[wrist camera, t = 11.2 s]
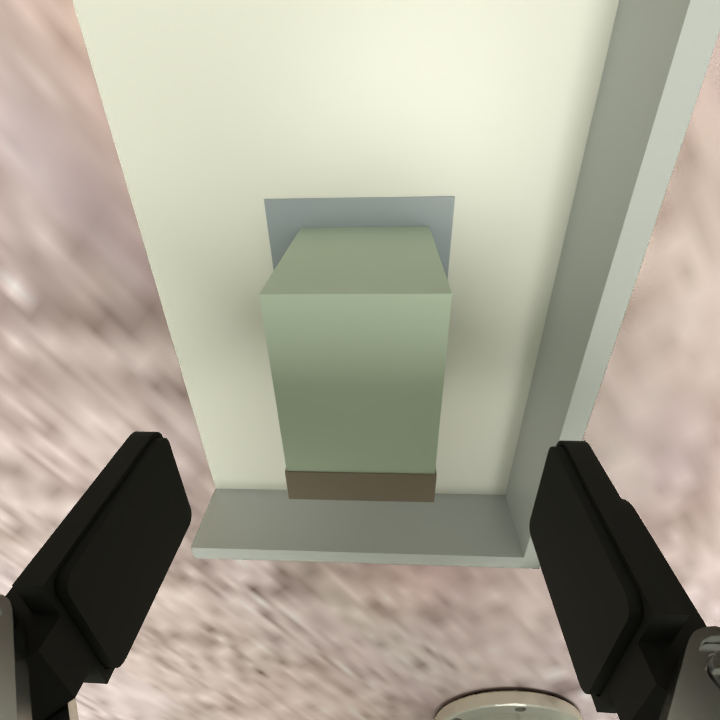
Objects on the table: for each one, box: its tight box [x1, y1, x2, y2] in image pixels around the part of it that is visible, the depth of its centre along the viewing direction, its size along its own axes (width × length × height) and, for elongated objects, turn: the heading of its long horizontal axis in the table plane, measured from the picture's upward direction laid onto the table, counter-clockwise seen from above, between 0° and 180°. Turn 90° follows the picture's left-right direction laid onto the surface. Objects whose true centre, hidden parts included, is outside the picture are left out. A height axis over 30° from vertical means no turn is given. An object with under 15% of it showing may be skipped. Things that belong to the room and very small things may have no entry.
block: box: [259, 226, 452, 502], centre depth 14 cm, size 5×7×6 cm, turn 1°
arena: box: [72, 0, 720, 569], centre depth 16 cm, size 22×16×4 cm
